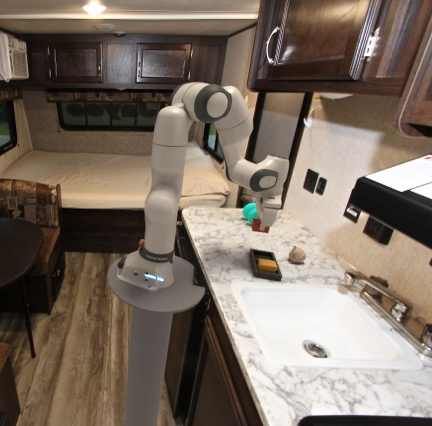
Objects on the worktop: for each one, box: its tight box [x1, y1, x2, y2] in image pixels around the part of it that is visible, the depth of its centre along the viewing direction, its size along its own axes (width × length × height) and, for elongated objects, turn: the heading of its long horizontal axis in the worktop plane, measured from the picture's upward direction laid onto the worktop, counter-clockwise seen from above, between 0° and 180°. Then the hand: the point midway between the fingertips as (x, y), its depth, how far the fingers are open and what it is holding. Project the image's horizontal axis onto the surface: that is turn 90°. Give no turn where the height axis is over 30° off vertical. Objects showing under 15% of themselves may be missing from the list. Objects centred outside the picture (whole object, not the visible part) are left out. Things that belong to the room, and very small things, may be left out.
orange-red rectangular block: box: [250, 218, 271, 234], centre depth 121 cm, size 6×4×4 cm
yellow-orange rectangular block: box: [257, 259, 277, 273], centre depth 117 cm, size 6×4×4 cm
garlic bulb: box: [288, 245, 307, 263], centre depth 124 cm, size 7×6×8 cm
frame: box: [248, 248, 283, 282], centre depth 121 cm, size 10×18×3 cm, turn 163°
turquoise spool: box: [242, 202, 258, 225], centre depth 157 cm, size 10×10×10 cm
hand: (260, 226), depth 121 cm, fingers closed on orange-red rectangular block, 4 cm apart
